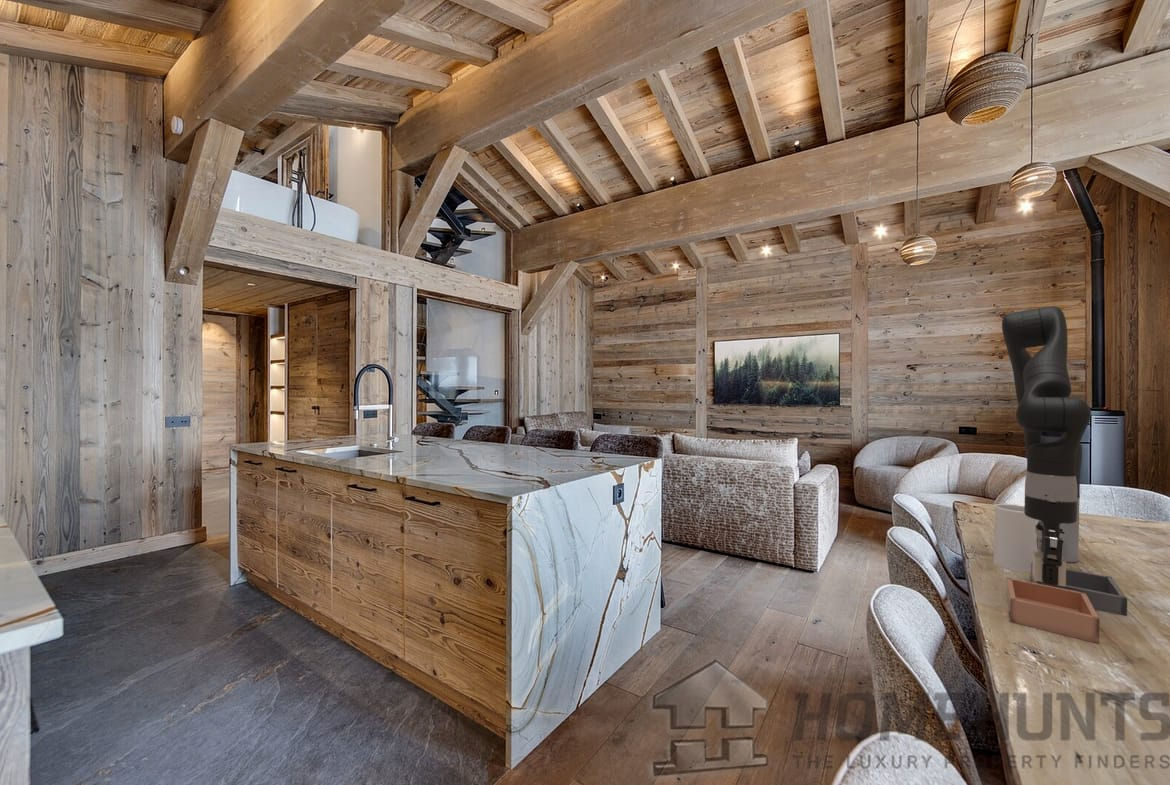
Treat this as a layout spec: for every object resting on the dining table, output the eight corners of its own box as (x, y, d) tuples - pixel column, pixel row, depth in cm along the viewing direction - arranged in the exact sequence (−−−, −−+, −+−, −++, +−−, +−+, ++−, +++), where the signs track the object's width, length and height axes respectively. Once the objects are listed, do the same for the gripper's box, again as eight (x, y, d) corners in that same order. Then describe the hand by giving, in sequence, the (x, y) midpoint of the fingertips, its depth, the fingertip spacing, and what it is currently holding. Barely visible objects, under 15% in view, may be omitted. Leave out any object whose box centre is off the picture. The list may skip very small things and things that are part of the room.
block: (1032, 573, 97) (1032, 551, 97) (1062, 579, 94) (1062, 556, 94) (1034, 580, 94) (1034, 556, 94) (1065, 586, 91) (1066, 562, 91)
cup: (1022, 577, 114) (1023, 513, 114) (985, 565, 122) (986, 504, 122) (1045, 574, 116) (1046, 510, 116) (1008, 562, 124) (1009, 502, 124)
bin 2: (1030, 580, 112) (1031, 562, 112) (1111, 596, 104) (1111, 576, 104) (1036, 601, 102) (1037, 580, 102) (1126, 620, 93) (1127, 598, 93)
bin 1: (1006, 597, 103) (1006, 577, 103) (1085, 614, 96) (1085, 593, 96) (1010, 621, 93) (1010, 599, 93) (1099, 643, 85) (1099, 618, 85)
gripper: (1022, 487, 102) (1020, 565, 102) (1027, 499, 91) (1025, 586, 91) (1071, 492, 97) (1069, 574, 97) (1083, 505, 86) (1081, 597, 86)
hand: (1048, 579), depth 94 cm, fingers closed on block, 4 cm apart
